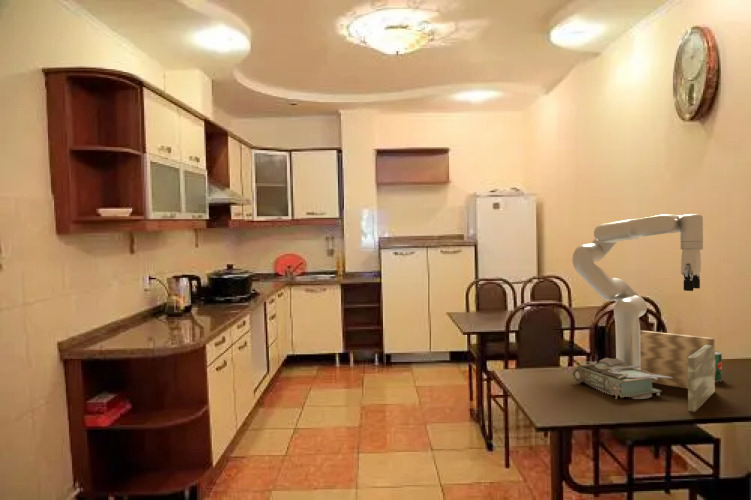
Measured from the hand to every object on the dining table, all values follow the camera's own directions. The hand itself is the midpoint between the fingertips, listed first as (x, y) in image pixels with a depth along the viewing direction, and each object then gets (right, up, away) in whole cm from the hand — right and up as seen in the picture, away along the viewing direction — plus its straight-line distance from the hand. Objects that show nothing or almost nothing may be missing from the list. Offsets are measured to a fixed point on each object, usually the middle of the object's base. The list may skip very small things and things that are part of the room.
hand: (691, 289), depth 203 cm
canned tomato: (+10, -37, +5) cm, 38 cm away
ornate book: (-31, -38, -4) cm, 49 cm away
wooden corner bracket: (-17, -38, -12) cm, 43 cm away
